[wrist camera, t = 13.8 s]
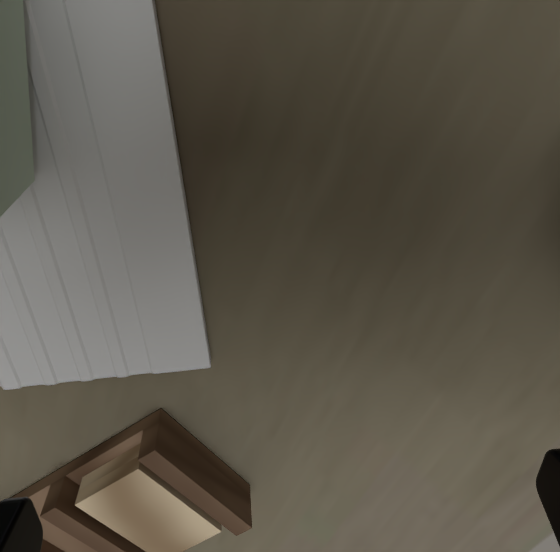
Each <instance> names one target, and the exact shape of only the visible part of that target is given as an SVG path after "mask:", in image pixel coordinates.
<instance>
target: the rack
mask: <svg viewBox="0 0 560 552" xmlns="http://www.w3.org/2000/svg"><path fill="white" fill-rule="evenodd" d="M140 443H141V445H140V450H139V456H138V461H139V462H141V463H142V464H143V465H145V466H146V467H147V468H149V469H150V470H151V471H152V472H154V473H155V474H156V475H158V476H159V477H160V478H162V479H163V480H164V481H165V482H167V483H168V484H169V485H171V486H172V487H173V488H175V489H176V490H177V491H179V492H180V493H181V494H182V495H184V496H185V497H186V498H188V499H189V500H190V501H192V502H193V503H194V504H195V505H197V506H198V507H199V508H201V509H202V510H203V511H205V512H206V513H207V514H209V515H210V516H211V517H212V518H214V519H215V520H216V521H218V522H219V523H220V524H222V525H223V526H224V527H225V528H227V529H228V530H229V531H231V532H232V533H233V534H235V535H236V536H237V535H239V534H241V533H243V532H245V531H247V530H249V529H251V528H252V518H251V499H250V485H249V484H248V483H247V482H246V481H244V480H243V479H242V478H241V477H240V476H239V475H237V474H236V473H235V472H234V471H233V470H232V469H230V468H229V467H228V466H227V465H226V464H225V463H224V462H222V461H221V460H220V459H219V458H218V457H217V456H215V455H214V454H213V453H212V452H211V451H210V450H209V449H207V448H206V447H205V446H204V445H203V444H202V443H200V442H199V441H198V440H197V439H196V438H195V437H193V436H192V435H191V434H190V433H189V432H188V431H187V430H185V429H184V428H183V427H182V426H181V425H180V424H178V423H177V422H176V421H175V420H174V419H173V418H171V417H170V416H169V415H168V414H167V413H166V412H165V411H163V410H162V409H159V410H157V411H156V412H154V413H152V414H151V415H149V416H147V417H146V418H144V419H142V420H141V421H139V422H137V423H136V424H134V425H132V426H131V427H129V428H127V429H126V430H124V431H122V432H120V433H119V434H117V435H115V436H114V437H112V438H110V439H109V440H107V441H105V442H104V443H102V444H100V445H99V446H97V447H95V448H94V449H92V450H90V451H89V452H87V453H85V454H83V455H82V456H80V457H78V458H77V459H75V460H73V461H72V462H70V463H68V464H67V465H65V466H63V467H62V468H60V469H58V470H57V471H55V472H53V473H52V474H50V475H48V476H47V477H45V478H43V479H41V480H40V481H38V482H36V483H35V484H33V485H31V486H30V487H28V488H26V489H25V490H23V491H21V492H20V493H18V494H16V495H15V496H13V497H11V498H18V497H28V498H30V499H31V500H32V502H33V504H34V507H35V509H36V512H37V514H38V517H39V519H40V521H41V524H42V527H43V541H42V547H41V552H146V551H144V550H143V549H141V548H140V547H138V546H136V545H135V544H133V543H132V542H130V541H129V540H127V539H126V538H124V537H123V536H121V535H120V534H118V533H116V532H115V531H113V530H112V529H110V528H109V527H107V526H106V525H104V524H103V523H101V522H100V521H98V520H96V519H95V518H93V517H92V516H90V515H89V514H87V513H86V512H84V511H83V510H81V509H80V508H78V507H76V506H75V502H76V498H77V495H78V491H79V488H80V484H81V481H82V477H84V476H85V475H87V474H89V473H91V472H92V471H94V470H96V469H97V468H99V467H101V466H103V465H104V464H106V463H108V462H109V461H111V460H113V459H115V458H116V457H118V456H120V455H121V454H123V453H125V452H127V451H128V450H130V449H132V448H133V447H135V446H137V445H139V444H140Z"/></svg>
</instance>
